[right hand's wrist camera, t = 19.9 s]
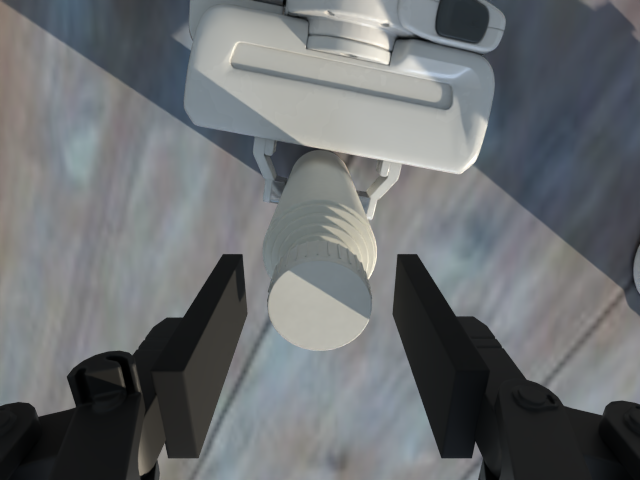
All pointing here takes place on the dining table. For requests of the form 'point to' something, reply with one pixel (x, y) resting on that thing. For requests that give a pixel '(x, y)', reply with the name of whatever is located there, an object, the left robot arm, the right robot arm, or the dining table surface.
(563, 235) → the dining table surface
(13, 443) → the right robot arm
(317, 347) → the cap
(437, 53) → the left robot arm
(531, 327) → the dining table surface
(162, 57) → the dining table surface
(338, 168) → the bottle
